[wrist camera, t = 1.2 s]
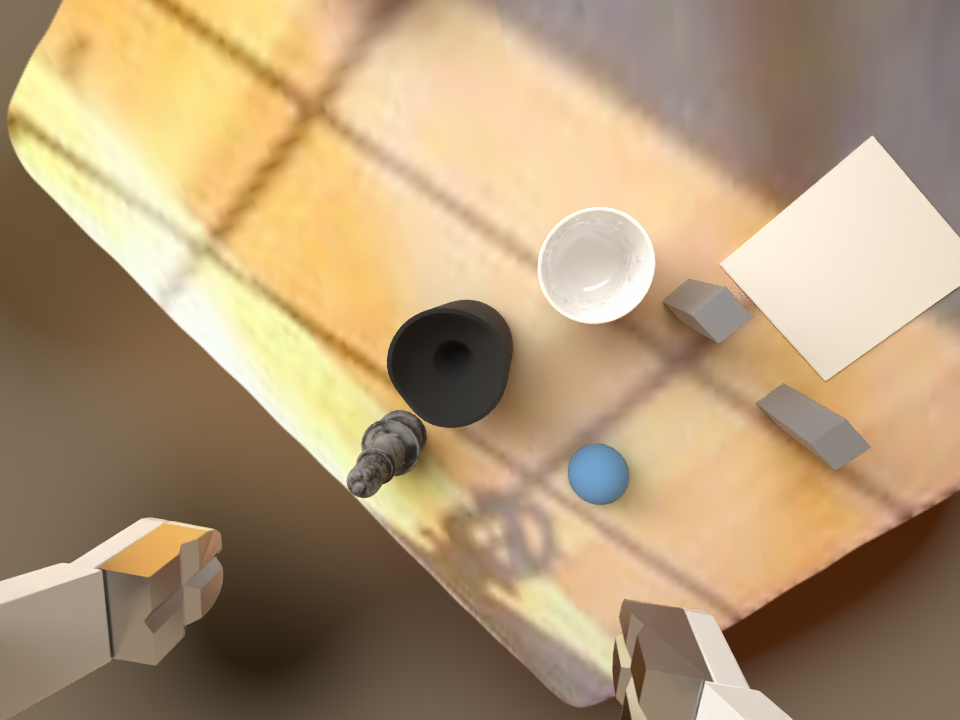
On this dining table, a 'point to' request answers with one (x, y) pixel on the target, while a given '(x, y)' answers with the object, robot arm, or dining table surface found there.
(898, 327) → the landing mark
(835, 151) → the dining table surface
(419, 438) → the grey chess piece
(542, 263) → the white cup
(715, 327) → the post
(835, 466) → the post
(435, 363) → the pen holder
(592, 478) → the ball
